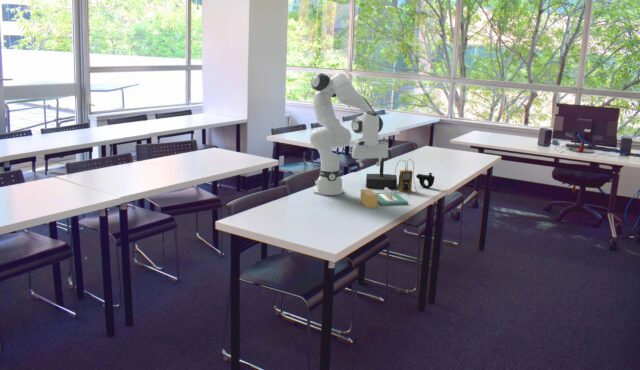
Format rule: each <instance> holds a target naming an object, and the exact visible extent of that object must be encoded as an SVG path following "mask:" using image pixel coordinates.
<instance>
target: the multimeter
mask: <svg viewBox="0 0 640 370" xmlns="http://www.w3.org/2000/svg"><path fill="white" fill-rule="evenodd" d="M402 161H403V162H405V164H404V165H405V166H404V170H403V169H401V170H399V177H398V187H399V188H398V191H399V194H400V195H405V192H407V193H406V195H408V194H409V193H417V188H416V186H414V189H415V191H413V192H412V188H413V185H412V184H414V185H416V184H415V181H413V180H415V178H414V175H413V174H414V173H415V166H413V168H412V170H411V169H408V166H409V165H408V164H409V161H411V162H412V164H413V165H415V163H414V161H413V160H412V159H411V158H410V159H408V160H407V162H406V161H405V160H404V159H402ZM399 162H401V159H400V160H399V161H398V162H397V164H396V165H395V166H396V167H395V168H397V166H398V164H399ZM394 170H395V172H394V174H396V172H397V171H396V170H397V169H394ZM394 192H395V193H397V191H396V190H394ZM403 192H404V193H403Z"/></svg>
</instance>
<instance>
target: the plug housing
mask: <svg viewBox="0 0 640 370" xmlns="http://www.w3.org/2000/svg"><path fill="white" fill-rule="evenodd" d="M376 193H377V192H375V191H373V190H372V188H364V189H360V198H359V199H360V202H361V204H362V205H363V206H364V207H366V208H368V209H369V208H372V209H373V208H378V203H377V197H378V195H377V194H376Z"/></svg>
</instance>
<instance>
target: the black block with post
mask: <svg viewBox="0 0 640 370" xmlns="http://www.w3.org/2000/svg"><path fill="white" fill-rule="evenodd" d="M384 163H385V158H382V160H381V162H380V166H379V173H366V176H365V177H366V178H365V188H366V189H384V190H385V188H388V189H390V190H396V189H397V187H398V177H397V174H388V173H386V174H385V173H384V169H385V168H384V166H385V164H384Z"/></svg>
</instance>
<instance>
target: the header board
mask: <svg viewBox="0 0 640 370" xmlns="http://www.w3.org/2000/svg"><path fill="white" fill-rule="evenodd" d="M375 193H376V194H377V195H378V197H377V205H378V204H379V205H380V207H381V206H404V205H406V206H407V205H409V201H408V200H407V199H405V198H403V197H402V196H401V195H399V193H398V192H396V193H395V191H394V192H393V190H391V189H388V188H385V189H384V191H383V192H375Z"/></svg>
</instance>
